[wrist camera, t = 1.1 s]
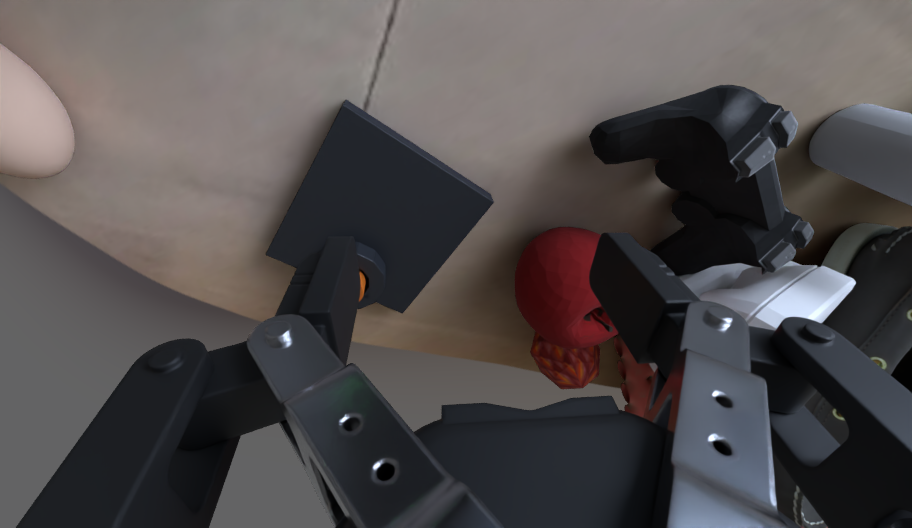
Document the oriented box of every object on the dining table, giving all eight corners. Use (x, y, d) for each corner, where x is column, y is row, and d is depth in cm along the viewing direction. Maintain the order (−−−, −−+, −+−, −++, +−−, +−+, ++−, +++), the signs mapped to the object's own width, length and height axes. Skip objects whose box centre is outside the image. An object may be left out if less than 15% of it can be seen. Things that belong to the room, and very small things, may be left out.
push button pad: (398, 308, 34) (397, 332, 32) (267, 251, 29) (254, 274, 27) (490, 194, 29) (498, 212, 26) (346, 99, 24) (338, 110, 21)
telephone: (882, 260, 29) (754, 209, 35) (775, 354, 19) (625, 262, 26) (768, 386, 38) (682, 328, 44) (656, 493, 28) (566, 400, 35)
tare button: (356, 297, 30) (353, 310, 28) (325, 284, 29) (321, 297, 27) (372, 275, 29) (370, 287, 27) (340, 260, 28) (337, 273, 26)
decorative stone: (526, 350, 40) (550, 418, 33) (515, 306, 36) (539, 373, 29) (585, 334, 39) (621, 400, 33) (579, 287, 35) (619, 351, 29)
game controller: (693, 221, 35) (834, 245, 26) (651, 276, 34) (782, 318, 26) (633, 68, 27) (811, 32, 18) (574, 135, 26) (732, 130, 17)
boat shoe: (725, 505, 37) (834, 596, 28) (804, 214, 32) (963, 224, 24) (803, 491, 40) (920, 568, 32) (885, 226, 35) (1049, 238, 27)
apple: (482, 249, 31) (508, 337, 23) (579, 187, 29) (646, 261, 21) (534, 310, 36) (570, 401, 28) (621, 261, 34) (687, 346, 25)
